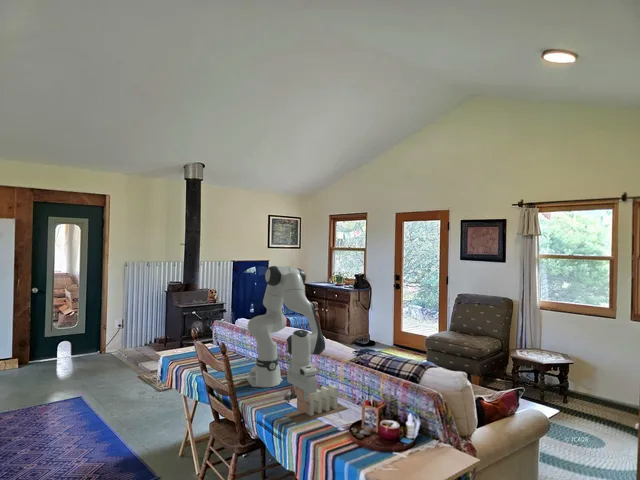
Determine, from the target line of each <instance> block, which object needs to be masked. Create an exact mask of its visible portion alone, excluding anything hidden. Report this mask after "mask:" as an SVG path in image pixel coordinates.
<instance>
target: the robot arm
mask: <svg viewBox="0 0 640 480" xmlns="http://www.w3.org/2000/svg"><path fill="white" fill-rule="evenodd" d="M264 276H265V277H264V278H265V282H266V284H267V285H266V288H265V293H264V297H263V299H262V305H263V306H264V308H266V313H265V314H260V315H256V316H254V317H252V318H251V319H249V321H248V322H247V331H248V333H249V334H250V335H251V336H253V338H254V339H255V342H256V347H257V357H256V358H255V360H256V362H255V365H254V366H253V367H252V368H250V371H249V376H247V377H246V379H245V380H247V381H246V382H248V384H250V386H251V387H254V388H257V387H258V388H272V387H277V386H279V385H280V384H281V382H283V378H282V377H281V366H280V365H279V358H278V344H277V342H275V340H273V338H272V334H275V333H278V332H280V331H282V330H283V329H284V328H286V326H287V318H286V316H285V314H284V313H283V307H284V305H285V307H286V308H287V309H289V310H290V311H292V312H295V313H299V314H301V315H302V316H304V317H306V318H307V321H308V323H309V326H310V329H311V330H310V331H311V333H310V332H309V331H308V330H305V329H297V330H294V331H293V332H292V334H290V335H289V336H288V337H287V338H286V349H285V350H286V352H287V353H288V354H289V355H291V362H290V363H289V364H288V368H287V374H286V380H287V382H288V383H289V384H290V385H292V386H294V389H295V395H297V387H298V388H300V389H302V390H304V395H303V399H304V400H307V399H308V394H309V393H310V394H311V393H315V392H316V391H317V389H318V377H317V374H318V370H317V368H316V366H315V365H314V364H313V363H312V360H311V359H312V358H311V355H313V356H316V355H317V356H319V355H321V354H322V353H323V352H324V351H325V349H326V341H325V340H326V339H325V338H324V334H323V332H322V329H321V326H320V322H319V318H318V316H317V313H316V310H315V306H314V304H313V303H312V302H311V301H310V300H308V298H307V296H306V291H305V286H304V285H305V283H306V278H307V276H306V273H305V270H303V269H301V268H299V267H297V268H296V267H291V266H276V265H271V266H268V267H267V269H266V270H265V274H264Z"/></svg>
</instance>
